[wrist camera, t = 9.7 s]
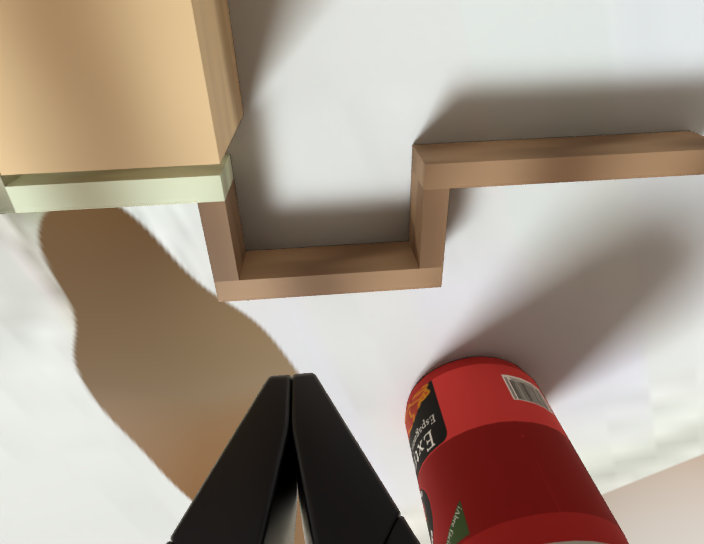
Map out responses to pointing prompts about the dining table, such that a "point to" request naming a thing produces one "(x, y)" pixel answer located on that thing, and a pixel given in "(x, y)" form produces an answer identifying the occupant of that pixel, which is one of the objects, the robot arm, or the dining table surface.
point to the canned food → (499, 461)
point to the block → (115, 84)
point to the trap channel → (357, 259)
